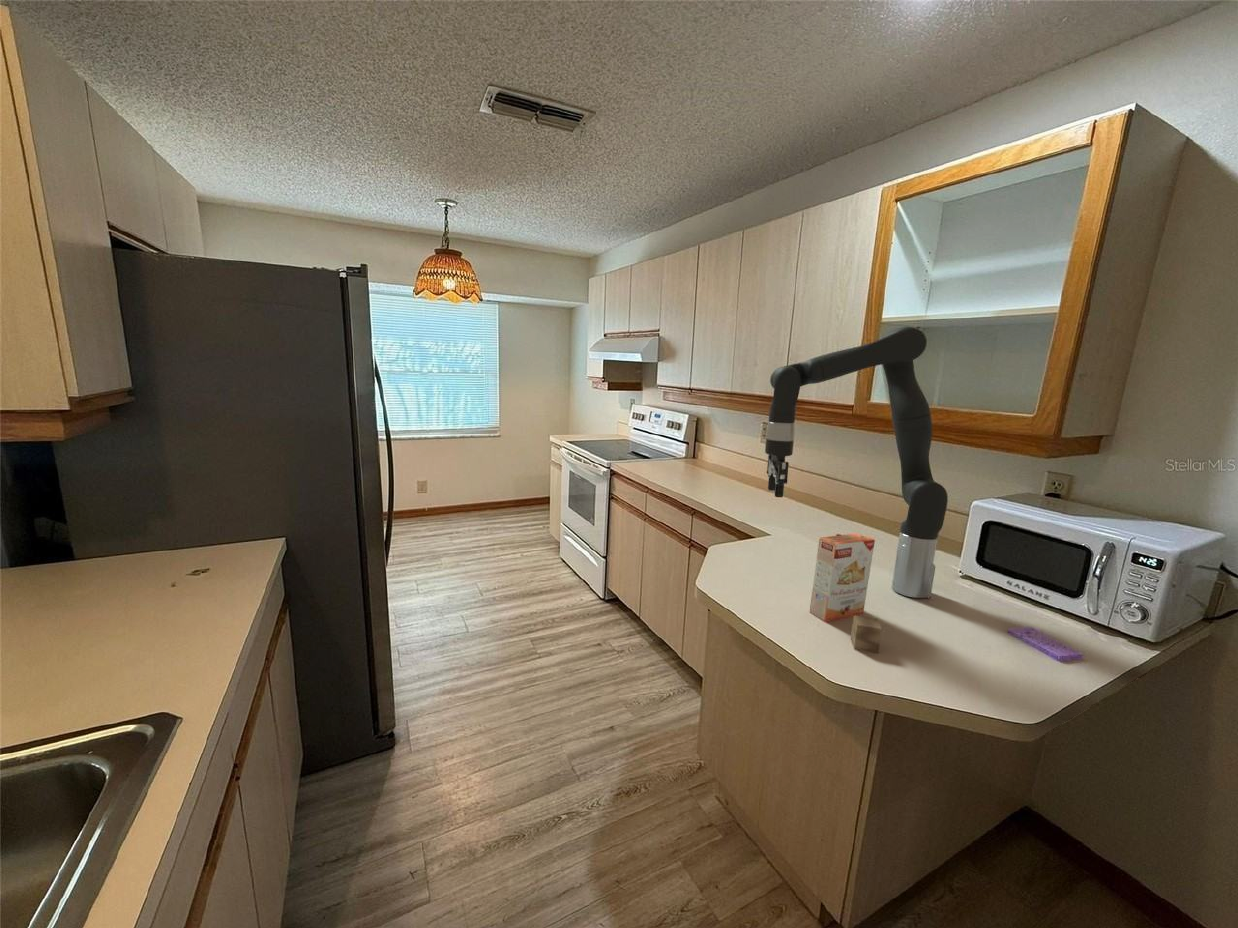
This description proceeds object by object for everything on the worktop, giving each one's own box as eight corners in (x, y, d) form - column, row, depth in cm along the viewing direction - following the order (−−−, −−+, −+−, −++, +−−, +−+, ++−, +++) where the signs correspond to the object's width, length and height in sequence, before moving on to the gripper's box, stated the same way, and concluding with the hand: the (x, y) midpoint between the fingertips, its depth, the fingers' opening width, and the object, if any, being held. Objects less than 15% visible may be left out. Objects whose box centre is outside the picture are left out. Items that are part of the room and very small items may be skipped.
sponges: (1029, 633, 126) (1030, 626, 126) (1083, 660, 114) (1084, 653, 114) (1005, 634, 125) (1007, 627, 125) (1058, 662, 113) (1059, 655, 113)
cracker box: (826, 623, 125) (836, 544, 122) (808, 613, 131) (817, 536, 127) (865, 614, 131) (876, 538, 127) (846, 604, 137) (856, 531, 133)
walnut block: (873, 642, 117) (877, 618, 116) (878, 653, 113) (881, 629, 112) (850, 638, 119) (853, 615, 118) (854, 649, 114) (857, 625, 113)
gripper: (800, 441, 135) (794, 500, 138) (786, 435, 149) (782, 488, 152) (772, 440, 135) (767, 498, 138) (761, 434, 149) (756, 487, 152)
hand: (775, 493), depth 145 cm, fingers open, 8 cm apart
